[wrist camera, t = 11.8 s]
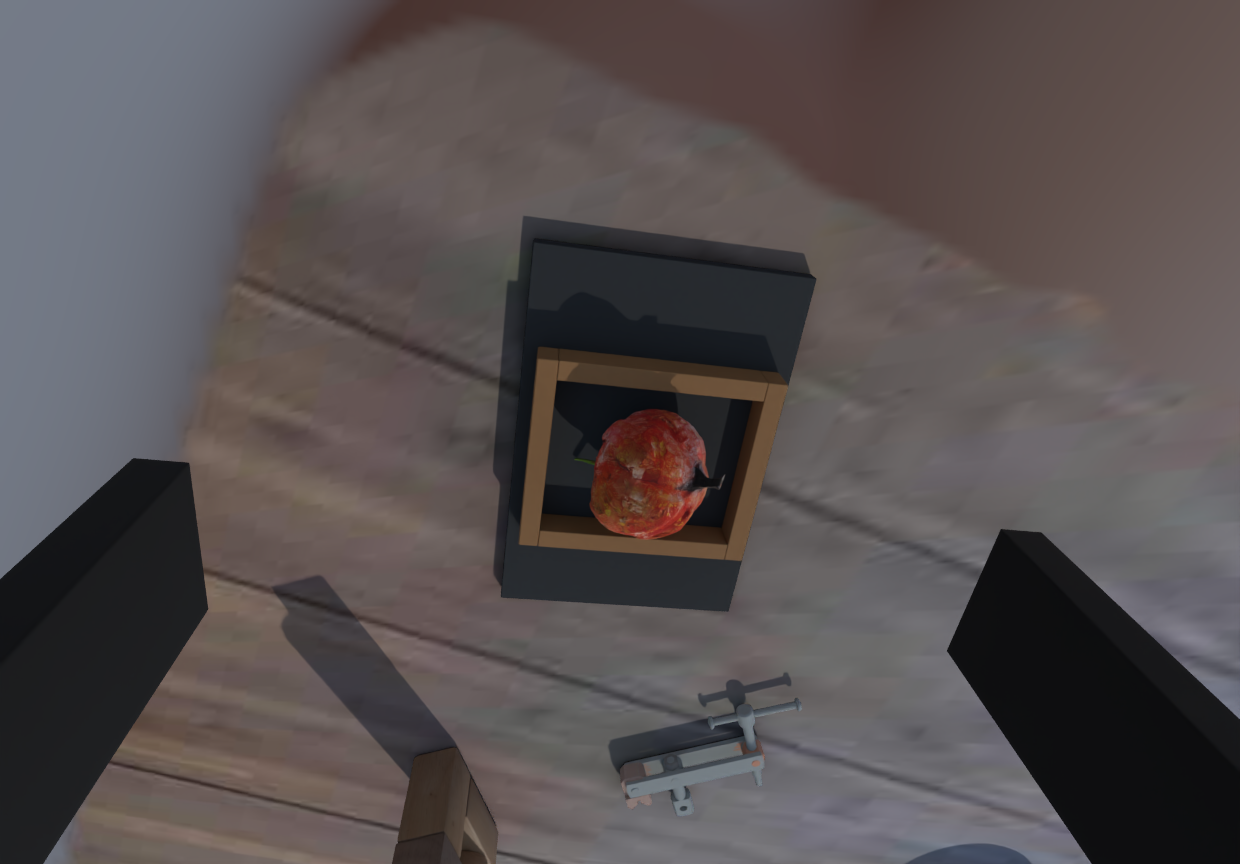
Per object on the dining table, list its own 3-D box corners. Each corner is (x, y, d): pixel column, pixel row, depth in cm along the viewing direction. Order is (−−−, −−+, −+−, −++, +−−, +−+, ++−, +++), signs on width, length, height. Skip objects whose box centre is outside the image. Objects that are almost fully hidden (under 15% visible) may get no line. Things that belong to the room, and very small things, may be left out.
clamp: (636, 833, 59) (609, 752, 55) (633, 809, 61) (607, 728, 56) (816, 793, 59) (804, 708, 54) (807, 770, 61) (795, 685, 56)
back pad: (534, 238, 39) (532, 250, 37) (811, 274, 42) (829, 287, 39) (501, 588, 50) (498, 617, 47) (725, 602, 52) (734, 631, 49)
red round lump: (605, 491, 48) (743, 531, 43) (536, 533, 43) (686, 585, 37) (607, 384, 46) (754, 413, 41) (534, 413, 40) (694, 452, 35)
